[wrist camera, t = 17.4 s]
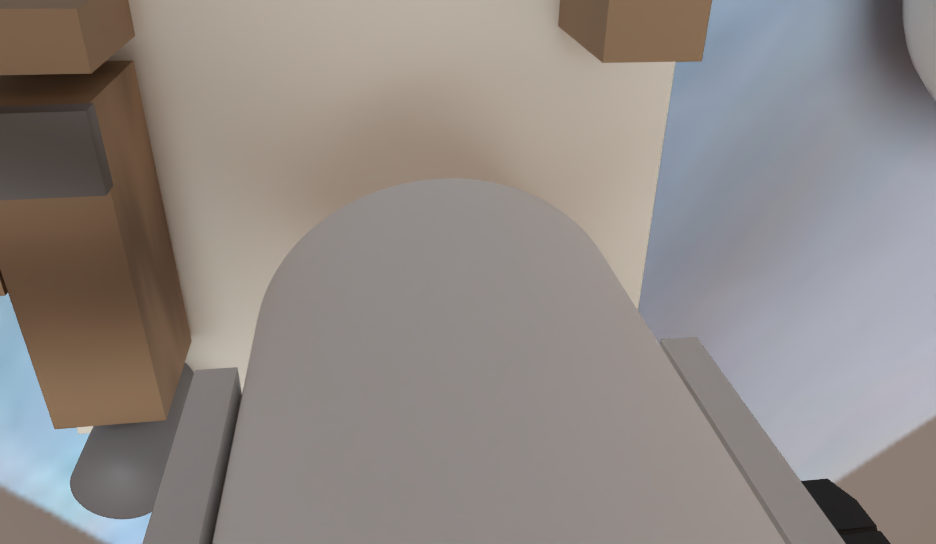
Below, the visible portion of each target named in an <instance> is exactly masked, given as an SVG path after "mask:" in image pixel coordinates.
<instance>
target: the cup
mask: <svg viewBox="0 0 936 544" xmlns="http://www.w3.org/2000/svg"><path fill="white" fill-rule="evenodd" d="M212 544H785V542H784V541H783V539H782V537H781V536H780V534H779V533H778V531H777V530H776V528H775V526H774V525H773V523H772V522H771V520H770V519H769V517H768V515H767V514H766V512H765V511H764V509H763V507H762V506H761V504H760V503H759V501H758V500H757V498H756V496H755V495H754V493H753V492H752V490H751V488H750V487H749V485H748V484H747V482H746V481H745V479H744V477H743V476H742V474H741V473H740V471H739V470H738V468H737V466H736V465H735V463H734V462H733V460H732V458H731V457H730V455H729V454H728V452H727V451H726V449H725V447H724V446H723V444H722V443H721V441H720V439H719V438H718V436H717V435H716V433H715V432H714V430H713V428H712V427H711V425H710V424H709V422H708V421H707V419H706V417H705V416H704V414H703V413H702V411H701V409H700V408H699V406H698V405H697V403H696V402H695V400H694V398H693V397H692V395H691V394H690V392H689V390H688V389H687V387H686V386H685V384H684V383H683V381H682V379H681V378H680V376H679V375H678V373H677V372H676V370H675V368H674V367H673V365H672V364H671V362H670V360H669V359H668V357H667V356H666V354H665V353H664V351H663V349H662V348H661V346H660V345H659V343H658V341H657V340H656V338H655V337H654V335H653V334H652V332H651V330H650V329H649V327H648V326H647V324H646V323H645V321H644V319H643V318H642V316H641V315H640V313H639V311H638V310H637V308H636V307H635V305H634V304H633V302H632V300H631V299H630V297H629V296H628V294H627V292H626V291H625V289H624V288H623V286H622V285H621V283H620V281H619V280H618V278H617V277H616V275H615V274H614V272H613V270H612V269H611V267H610V266H609V264H608V262H607V261H606V259H605V258H604V256H603V255H602V253H601V251H600V250H599V248H598V247H597V246H596V244H595V243H594V242H593V241H592V239H591V238H590V237H589V236H588V234H587V233H586V232H585V231H584V230H583V229H582V228H581V227H580V226H579V225H578V224H577V223H576V222H574V221H573V220H572V219H571V218H569V217H568V216H567V215H566V214H565V213H563V212H562V211H560V210H559V209H557V208H556V207H554V206H553V205H551V204H549V203H548V202H546V201H544V200H542V199H540V198H538V197H536V196H534V195H532V194H529V193H527V192H524V191H521V190H519V189H516V188H513V187H509V186H506V185H502V184H498V183H493V182H488V181H482V180H474V179H461V178H442V179H429V180H420V181H414V182H409V183H404V184H399V185H396V186H392V187H389V188H385V189H382V190H379V191H376V192H374V193H371V194H369V195H366V196H364V197H361V198H359V199H357V200H355V201H353V202H351V203H349V204H347V205H346V206H344V207H342V208H340V209H339V210H337V211H336V212H334V213H332V214H331V215H329V216H328V217H326V218H325V219H324V220H322V221H321V222H320V223H319V224H317V225H316V226H315V227H313V228H312V229H311V230H310V231H309V232H308V233H307V234H306V235H305V236H304V237H303V238H302V239H301V240H300V241H299V242H298V243H297V244H296V245H295V246H294V247H293V248H292V250H291V251H290V252H289V253H288V254H287V256H286V257H285V258H284V260H283V261H282V263H281V264H280V266H279V267H278V269H277V270H276V272H275V274H274V276H273V278H272V280H271V282H270V283H269V285H268V287H267V290H266V292H265V295H264V298H263V300H262V303H261V307H260V311H259V315H258V319H257V323H256V328H255V333H254V338H253V343H252V348H251V353H250V358H249V363H248V368H247V373H246V378H245V383H244V388H243V393H242V398H241V402H240V407H239V412H238V417H237V422H236V427H235V432H234V437H233V442H232V447H231V452H230V457H229V462H228V467H227V472H226V477H225V482H224V487H223V491H222V496H221V501H220V506H219V511H218V516H217V521H216V526H215V531H214V536H213V541H212Z"/></svg>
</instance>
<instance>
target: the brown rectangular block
mask: <svg viewBox="0 0 936 544" xmlns="http://www.w3.org/2000/svg"><path fill="white" fill-rule="evenodd" d="M0 270H1V273H2V276H3V279H4V282H5V285H6V288H7V290H8V293H9V296H10V299H11V302H12V305H13V308H14V311H15V314H16V317H17V320H18V323H19V326H20V329H21V332H22V335H23V338H24V340H25V343H26V346H27V349H28V352H29V355H30V358H31V361H32V364H33V367H34V370H35V373H36V376H37V379H38V382H39V385H40V388H41V390H42V393H43V396H44V399H45V402H46V405H47V408H48V411H49V414H50V417H51V420H52V423H53V426H54V429H63V428H76V427H88V426H100V425H113V424H125V423H137V422H150V421H162V420H166V419H167V416H168V413H169V410H170V406H171V403H172V400H173V397H174V394H175V391H176V388H177V385H178V382H179V379H180V375H181V372H182V369H183V366H184V363H185V360H186V357H187V354H188V351H189V347H190V344H191V341H192V340H191V336H190V331H189V326H188V321H187V316H186V312H185V307H184V302H183V297H182V292H181V288H180V283H179V278H178V273H177V268H176V263H175V259H174V254H173V249H172V244H171V239H170V235H169V230H168V225H167V220H166V215H165V210H164V206H163V201H162V196H161V191H160V186H159V182H158V177H157V172H156V167H155V162H154V158H153V153H152V148H151V143H150V138H149V133H148V129H147V124H146V119H145V114H144V109H143V105H142V100H141V95H140V90H139V85H138V81H137V76H136V71H135V66H134V61H105V62H104V63H103V64H102V65H101V66H100V67H98V68H97V69H96V70H95V71H94V72H93V73H91V74H38V75H0Z"/></svg>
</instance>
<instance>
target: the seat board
mask: <svg viewBox="0 0 936 544" xmlns="http://www.w3.org/2000/svg"><path fill="white" fill-rule="evenodd" d="M711 4H712V0H0V75H38V74H91V73H93V72H94V71H95V70H96V69H97V68H98V67H100V66H101V65H102V64H103V63H104V62H105V61H134V66H135V71H136V76H137V81H138V85H139V90H140V95H141V100H142V105H143V109H144V114H145V119H146V124H147V129H148V133H149V138H150V143H151V148H152V153H153V158H154V162H155V167H156V172H157V177H158V182H159V186H160V191H161V196H162V201H163V206H164V210H165V215H166V220H167V225H168V230H169V235H170V239H171V244H172V249H173V254H174V259H175V263H176V268H177V273H178V278H179V283H180V288H181V292H182V297H183V302H184V307H185V312H186V316H187V321H188V326H189V331H190V336H191V340H192V341H191V344H190V347H189V351H188V354H187V357H186V360H185V363H184V366H183V369H182V372H181V375H180V379H179V382H178V385H177V388H176V391H175V394H174V397H173V400H172V403H171V406H170V410H169V413H168V416H167V419H166V420H162V421H150V422H137V423H125V424H113V425H100V426H88V427H77V430H78V433H79V434H83V433H90V435H89V437H88V439H87V442H86V444H85V446H84V448H83V451H82V453H81V455H80V457H79V460H78V462H77V464H76V466H75V468H74V471H73V473H72V476H71V480H70V487H71V491H72V494H73V496H74V497H75V499H76V500H77V501H78V502H79V503H80V504H81V505H82V506H83V507H84V508H86V509H87V510H89V511H91V512H93V513H95V514H97V515H100V516H103V517H107V518H113V519H131V518H137V517H141V516H144V515H146V514H148V513H150V512H152V511H153V507H154V504H155V501H156V497H157V494H158V491H159V487H160V484H161V481H162V478H163V474H164V471H165V468H166V464H167V461H168V458H169V454H170V451H171V448H172V445H173V441H174V438H175V435H176V431H177V428H178V425H179V421H180V418H181V415H182V412H183V408H184V405H185V402H186V398H187V395H188V392H189V388H190V385H191V382H192V378H193V375H194V372H195V370H203V369H218V368H233V367H237V368H238V374H239V380H240V386H241V392H242V393H243V388H244V383H245V378H246V373H247V368H248V363H249V358H250V353H251V348H252V343H253V338H254V333H255V328H256V323H257V319H258V315H259V311H260V307H261V303H262V300H263V298H264V295H265V292H266V290H267V287H268V285H269V283H270V282H271V280H272V278H273V276H274V274H275V272H276V270H277V269H278V267H279V266H280V264H281V263H282V261H283V260H284V258H285V257H286V256H287V254H288V253H289V252H290V251H291V250H292V248H293V247H294V246H295V245H296V244H297V243H298V242H299V241H300V240H301V239H302V238H303V237H304V236H305V235H306V234H307V233H308V232H309V231H310V230H311V229H312V228H313V227H315V226H316V225H317V224H319V223H320V222H321V221H322V220H324V219H325V218H326V217H328V216H329V215H331V214H332V213H334V212H336V211H337V210H339V209H340V208H342V207H344V206H346V205H347V204H349V203H351V202H353V201H355V200H357V199H359V198H361V197H364V196H366V195H369V194H371V193H374V192H376V191H379V190H382V189H385V188H389V187H392V186H396V185H399V184H404V183H409V182H414V181H420V180H429V179H442V178H461V179H474V180H482V181H488V182H493V183H498V184H502V185H506V186H509V187H513V188H516V189H519V190H521V191H524V192H527V193H529V194H532V195H534V196H536V197H538V198H540V199H542V200H544V201H546V202H548V203H549V204H551V205H553V206H554V207H556V208H557V209H559V210H560V211H562V212H563V213H565V214H566V215H567V216H568V217H569V218H571V219H572V220H573V221H574V222H576V223H577V224H578V225H579V226H580V227H581V228H582V229H583V230H584V231H585V232H586V233H587V234H588V236H589V237H590V238H591V239H592V241H593V242H594V243H595V244H596V246H597V247H598V248H599V250H600V251H601V253H602V255H603V256H604V258H605V259H606V261H607V262H608V264H609V266H610V267H611V269H612V270H613V272H614V274H615V275H616V277H617V278H618V280H619V281H620V283H621V285H622V286H623V288H624V289H625V291H626V292H627V294H628V296H629V297H630V299H631V300H632V302H633V304H634V305H635V307H636V308H637V310H638V306H639V299H640V293H641V286H642V280H643V273H644V266H645V260H646V253H647V247H648V240H649V234H650V227H651V220H652V214H653V207H654V201H655V194H656V187H657V181H658V174H659V168H660V161H661V155H662V148H663V141H664V135H665V128H666V122H667V115H668V108H669V102H670V95H671V89H672V82H673V75H674V69H675V62H686V61H702V57H703V51H704V45H705V39H706V33H707V27H708V21H709V15H710V9H711ZM7 292H8V290H7V288H6V285H5V282H4V279H3V276H2V273H1V270H0V296H4V295H6V294H7Z"/></svg>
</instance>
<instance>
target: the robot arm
mask: <svg viewBox="0 0 936 544" xmlns="http://www.w3.org/2000/svg"><path fill="white" fill-rule="evenodd" d="M660 346H661V348H662V349H663V351H664V353H665V354H666V356H667V357H668V359H669V360H670V362H671V364H672V365H673V367H674V368H675V370H676V372H677V373H678V375H679V376H680V378H681V379H682V381H683V383H684V384H685V386H686V387H687V389H688V390H689V392H690V394H691V395H692V397H693V398H694V400H695V402H696V403H697V405H698V406H699V408H700V409H701V411H702V413H703V414H704V416H705V417H706V419H707V421H708V422H709V424H710V425H711V427H712V428H713V430H714V432H715V433H716V435H717V436H718V438H719V439H720V441H721V443H722V444H723V446H724V447H725V449H726V451H727V452H728V454H729V455H730V457H731V458H732V460H733V462H734V463H735V465H736V466H737V468H738V470H739V471H740V473H741V474H742V476H743V477H744V479H745V481H746V482H747V484H748V485H749V487H750V488H751V490H752V492H753V493H754V495H755V496H756V498H757V500H758V501H759V503H760V504H761V506H762V507H763V509H764V511H765V512H766V514H767V515H768V517H769V519H770V520H771V522H772V523H773V525H774V526H775V528H776V530H777V531H778V533H779V534H780V536H781V537H782V539H783V541H784V542H785V544H890V542H889V541H888V540H887V539H886V537H885V536H884V535H883V533H882V532H880V531H877V528H876V527H877V526H876V525H875V523H874V522H873V521H872V520H871V518H870V517H869V516H868V514H867V513H866V512H865V511H864V509H863V508H862V507H861V506H860V504H859V503H858V502H857V500H855V499H854V498H853V497H851V496H850V495H849V494H847V493H846V492H845V491H843V490H842V489H841V488H839V487H838V486H836V485H835V484H834V483H833V482H831V481H830V480H828V479H819V480H808V481H800V479H799V478H798V477H797V475H796V474H795V473H794V471H793V470H792V468H791V467H790V466H789V464H788V463H787V461H786V460H785V459H784V457H783V456H782V455H781V453H780V452H779V450H778V449H777V448H776V446H775V445H774V443H773V442H772V441H771V439H770V438H769V437H768V435H767V434H766V432H765V431H764V430H763V428H762V427H761V425H760V424H759V423H758V421H757V420H756V418H755V417H754V416H753V414H752V413H751V412H750V410H749V409H748V407H747V406H746V405H745V403H744V402H743V400H742V399H741V398H740V396H739V395H738V394H737V392H736V391H735V389H734V388H733V387H732V385H731V384H730V382H729V381H728V380H727V378H726V377H725V376H724V374H723V373H722V371H721V370H720V369H719V367H718V366H717V364H716V363H715V362H714V360H713V359H712V357H711V356H710V355H709V353H708V352H707V351H706V349H705V348H704V346H703V345H702V344H701V342H700V341H699V339H698V338H697V337H690V338H675V339H661V340H660ZM241 398H242V392H241V386H240V380H239V374H238V368H237V367H233V368H218V369H203V370H195V372H194V375H193V378H192V382H191V385H190V388H189V392H188V395H187V398H186V402H185V405H184V408H183V412H182V415H181V418H180V421H179V425H178V428H177V431H176V435H175V438H174V441H173V445H172V448H171V451H170V454H169V458H168V461H167V464H166V468H165V471H164V474H163V478H162V481H161V484H160V487H159V491H158V494H157V497H156V501H155V504H154V507H153V511H152V514H151V517H150V520H149V524H148V527H147V530H146V534H145V537H144V540H143V544H212V541H213V536H214V531H215V526H216V521H217V516H218V511H219V506H220V501H221V496H222V491H223V487H224V482H225V477H226V472H227V467H228V462H229V457H230V452H231V447H232V442H233V437H234V432H235V427H236V422H237V417H238V412H239V407H240V402H241Z"/></svg>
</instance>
